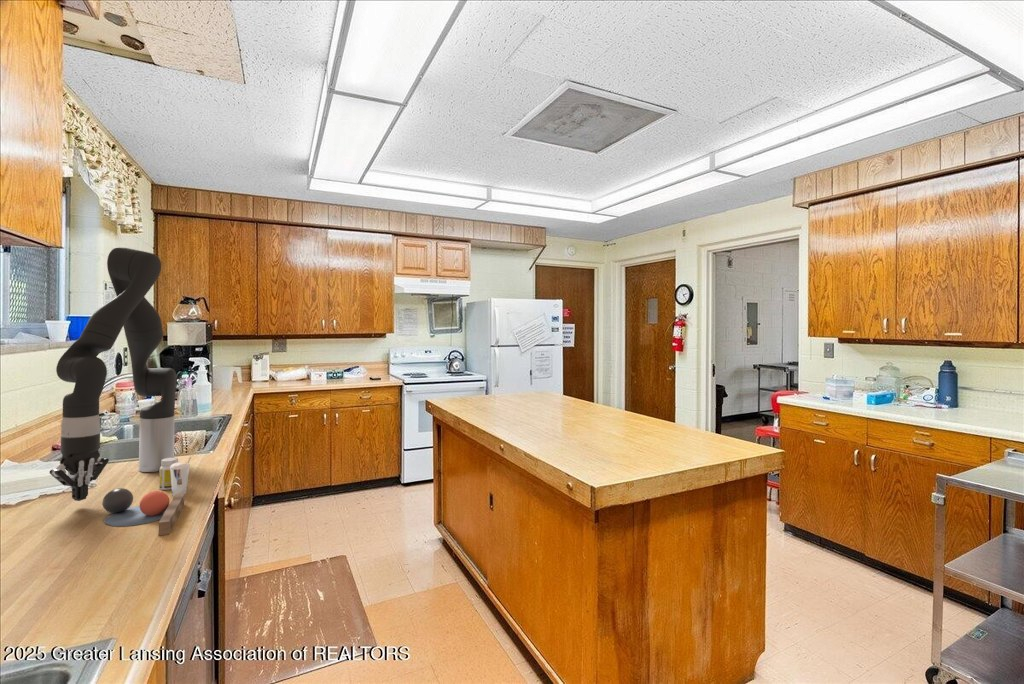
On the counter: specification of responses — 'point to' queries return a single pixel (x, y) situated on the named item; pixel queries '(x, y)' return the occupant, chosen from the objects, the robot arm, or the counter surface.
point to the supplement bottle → (166, 473)
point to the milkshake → (179, 477)
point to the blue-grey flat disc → (131, 517)
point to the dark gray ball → (117, 500)
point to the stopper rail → (171, 514)
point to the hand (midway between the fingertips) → (80, 499)
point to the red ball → (154, 503)
